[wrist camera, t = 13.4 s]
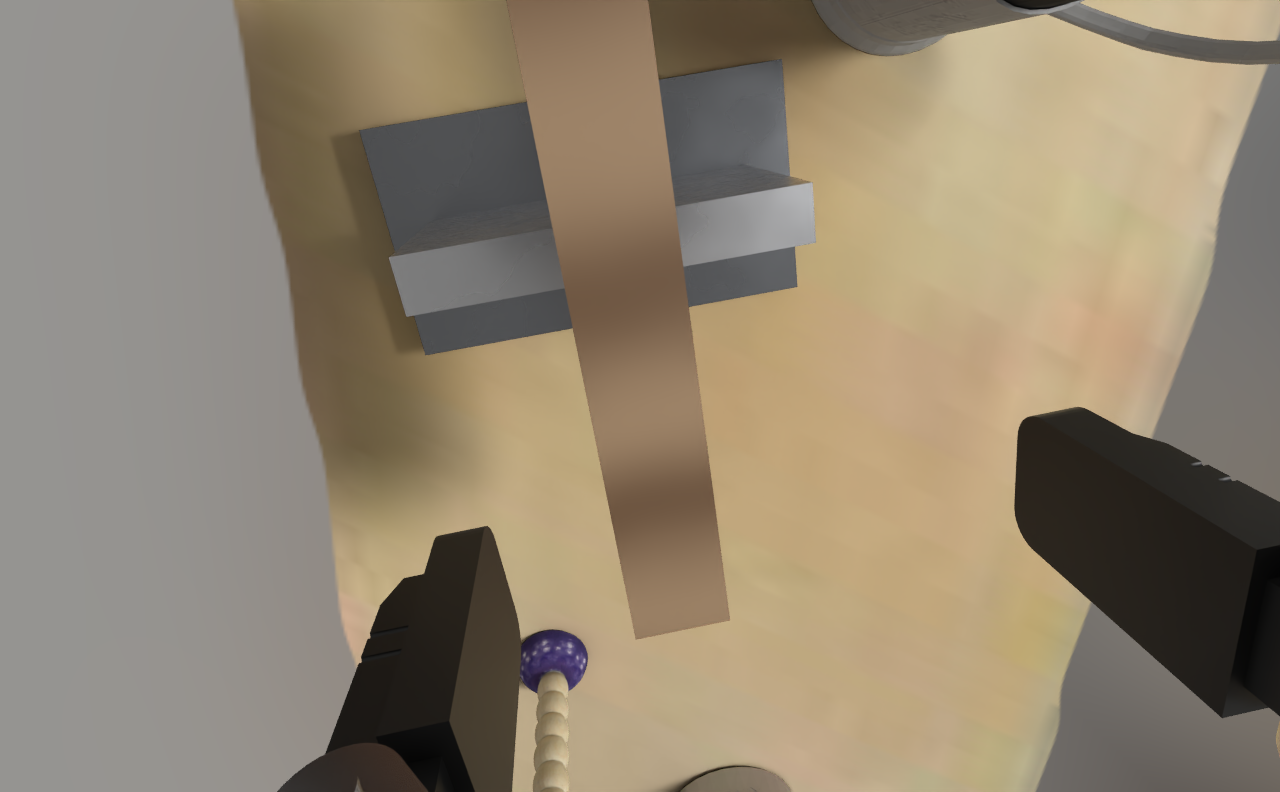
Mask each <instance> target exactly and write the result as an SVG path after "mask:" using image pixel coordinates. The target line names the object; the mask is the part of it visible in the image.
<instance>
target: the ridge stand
mask: <svg viewBox="0 0 1280 792" xmlns="http://www.w3.org/2000/svg"><path fill="white" fill-rule="evenodd" d="M659 86H660V94H661V102H662V109H663V117H664V124H665V132H666V139H667V147H668V155H669V162H670V170H671V177H672V185H673V192H674V200H675V208H676V215H677V223H678V230H679V238H680V245H681V253H682V261H683V268H684V276H685V283H686V291H687V298H688V306H689V307H691V306H696V305H702V304H707V303H712V302H718V301H723V300H729V299H734V298H740V297H745V296H750V295H756V294H761V293H767V292H772V291H778V290H783V289H789V288H794V287H797V274H796V259H795V246H800V245H806V244H811V243H816V237H815V219H814V201H813V183H812V182H809V181H806V180H802V179H798V178H794V177H790V171H789V156H788V141H787V126H786V112H785V97H784V82H783V67H782V59H779V60H773V61H767V62H761V63H755V64H749V65H744V66H738V67H732V68H726V69H720V70H714V71H708V72H702V73H696V74H690V75H684V76H678V77H672V78H666V79H661V80H659ZM359 131H360V135H361V138H362V141H363V145H364V148H365V152H366V155H367V158H368V162H369V165H370V169H371V172H372V175H373V179H374V182H375V185H376V189H377V192H378V196H379V199H380V202H381V206H382V209H383V213H384V216H385V219H386V223H387V226H388V230H389V233H390V236H391V240H392V243H393V246H394V250H395V252H394V253H393V254H392V255H391V256H390V257H389V260H390V264H391V267H392V270H393V274H394V277H395V280H396V284H397V287H398V290H399V294H400V297H401V300H402V304H403V307H404V310H405V314H406V317H408V316H414V318H415V321H416V324H417V328H418V331H419V335H420V338H421V341H422V345H423V348H424V351H425V355H430V354H435V353H441V352H446V351H451V350H457V349H462V348H468V347H473V346H479V345H484V344H489V343H495V342H500V341H506V340H511V339H517V338H522V337H528V336H533V335H538V334H544V333H549V332H555V331H560V330H566V329H571V328H573V327H572V322H571V317H570V312H569V307H568V302H567V297H566V292H565V287H564V282H563V277H562V272H561V267H560V262H559V258H558V253H557V248H556V243H555V238H554V233H553V228H552V223H551V218H550V213H549V208H548V203H547V198H546V193H545V188H544V184H543V179H542V174H541V169H540V164H539V159H538V154H537V149H536V144H535V139H534V134H533V129H532V124H531V119H530V114H529V110H528V105H527V102H524V103H518V104H512V105H506V106H501V107H495V108H489V109H483V110H477V111H471V112H465V113H459V114H453V115H447V116H441V117H435V118H429V119H423V120H418V121H412V122H406V123H400V124H394V125H388V126H382V127H376V128H370V129H364V130H359Z"/></svg>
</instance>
